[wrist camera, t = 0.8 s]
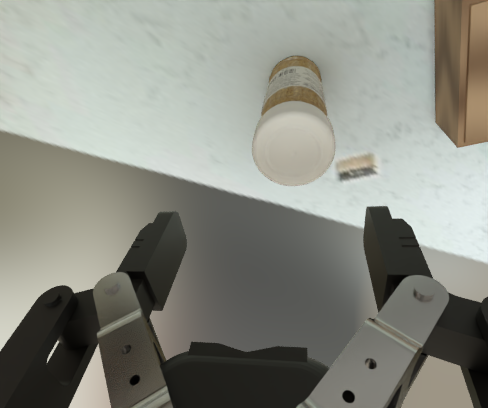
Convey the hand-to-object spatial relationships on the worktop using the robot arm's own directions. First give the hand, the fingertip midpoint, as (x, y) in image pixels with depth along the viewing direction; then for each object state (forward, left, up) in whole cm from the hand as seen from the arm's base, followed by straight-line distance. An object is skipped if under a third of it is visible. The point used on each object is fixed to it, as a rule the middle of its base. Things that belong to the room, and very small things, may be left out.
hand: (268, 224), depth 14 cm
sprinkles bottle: (-1, +1, -19) cm, 19 cm away
